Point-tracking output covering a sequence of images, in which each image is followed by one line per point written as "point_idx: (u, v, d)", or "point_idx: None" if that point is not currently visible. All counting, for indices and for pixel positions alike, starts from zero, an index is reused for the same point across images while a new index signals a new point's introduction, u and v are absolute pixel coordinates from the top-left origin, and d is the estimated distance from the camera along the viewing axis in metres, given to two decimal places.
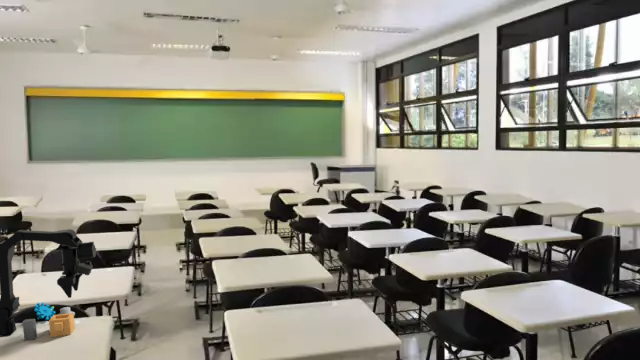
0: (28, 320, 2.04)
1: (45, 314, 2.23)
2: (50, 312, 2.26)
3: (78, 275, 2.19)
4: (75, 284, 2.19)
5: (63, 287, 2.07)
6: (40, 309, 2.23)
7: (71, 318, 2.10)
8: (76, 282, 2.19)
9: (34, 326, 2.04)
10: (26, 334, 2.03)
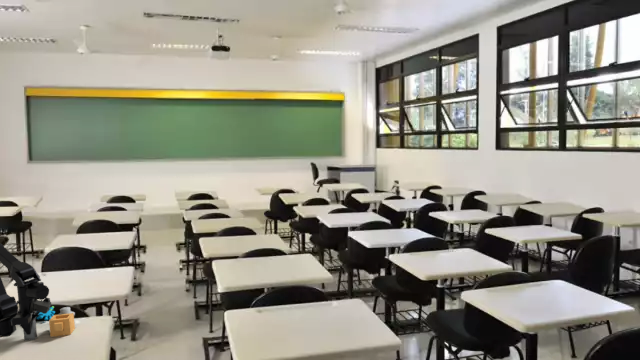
0: None
1: (44, 314, 2.23)
2: (50, 312, 2.26)
3: (34, 315, 2.06)
4: None
5: None
6: None
7: (71, 318, 2.10)
8: None
9: (34, 326, 2.04)
10: (25, 334, 2.03)
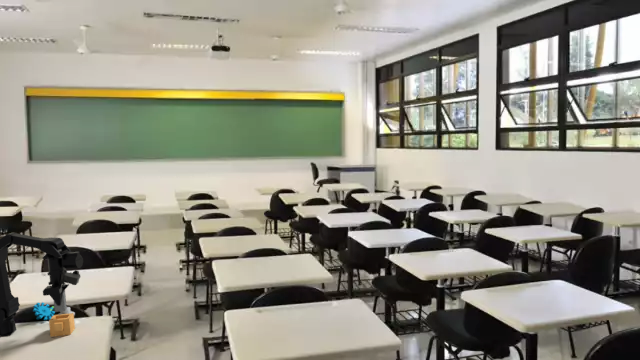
0: None
1: (44, 314, 2.23)
2: (50, 312, 2.27)
3: (63, 287, 2.10)
4: None
5: (52, 295, 2.04)
6: (39, 309, 2.23)
7: (71, 318, 2.10)
8: None
9: (64, 298, 2.08)
10: (56, 305, 2.07)
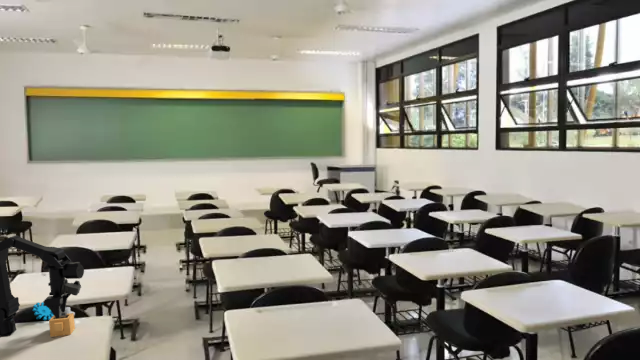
0: (60, 314, 2.09)
1: (43, 314, 2.23)
2: (49, 312, 2.27)
3: (65, 296, 2.12)
4: (62, 305, 2.12)
5: (51, 307, 2.02)
6: (39, 309, 2.24)
7: (71, 318, 2.10)
8: (63, 303, 2.12)
9: None
10: None
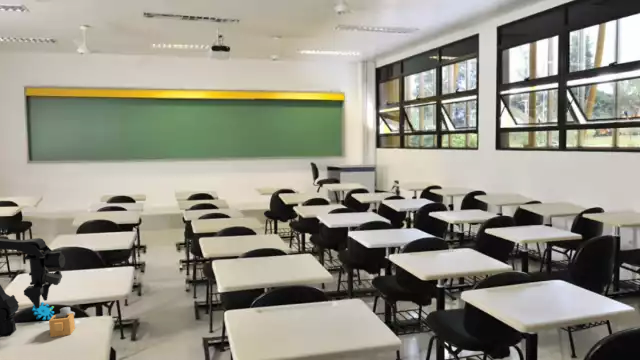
0: (61, 314, 2.09)
1: (43, 314, 2.23)
2: (49, 312, 2.27)
3: (47, 285, 2.15)
4: (44, 294, 2.15)
5: (30, 297, 2.04)
6: (38, 309, 2.24)
7: (71, 318, 2.10)
8: (45, 292, 2.15)
9: None
10: None
